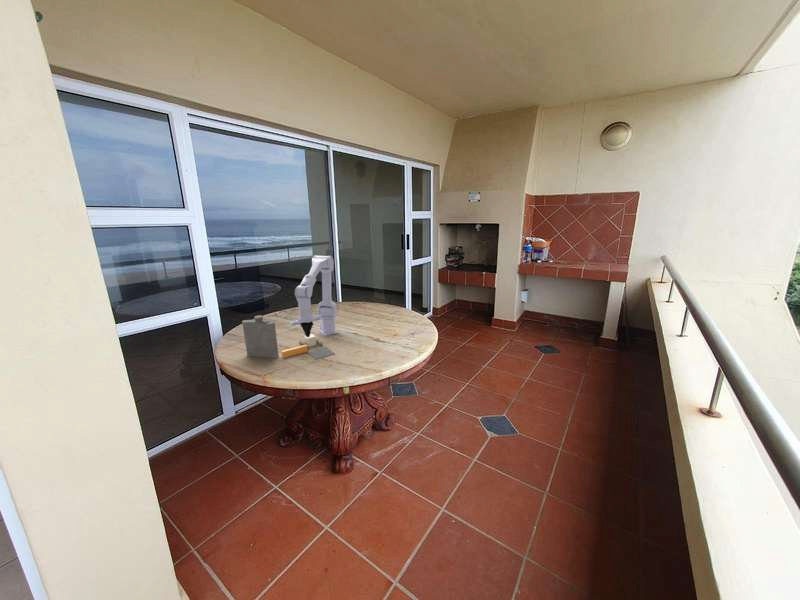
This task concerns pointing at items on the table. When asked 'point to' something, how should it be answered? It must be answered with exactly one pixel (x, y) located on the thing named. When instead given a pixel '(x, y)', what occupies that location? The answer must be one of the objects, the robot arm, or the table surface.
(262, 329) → the hip flask
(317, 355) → the slate mat
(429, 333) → the table surface
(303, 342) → the walnut channel
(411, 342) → the table surface
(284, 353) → the orange bar
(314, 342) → the white block
